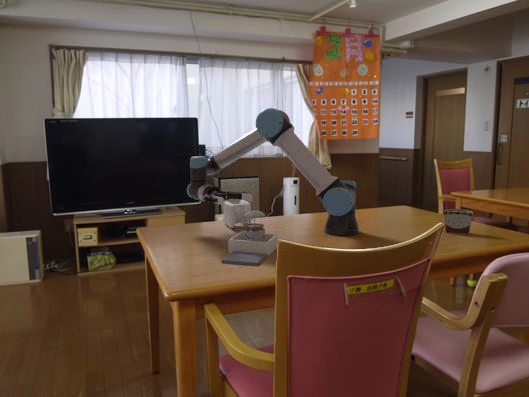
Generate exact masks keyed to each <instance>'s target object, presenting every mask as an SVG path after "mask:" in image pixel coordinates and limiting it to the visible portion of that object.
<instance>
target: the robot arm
mask: <svg viewBox="0 0 529 397" xmlns="http://www.w3.org/2000/svg"><path fill="white" fill-rule="evenodd" d="M267 142H269V143H270V144H271V145H272V146H273V147H278V149H280V150H281V151H282V152H283V153H284V154H285V156H286V157H287V158H288V159H289V161H290V162H292V163H293V165H294V166H295V167H296V168H297V169H298V170H299V172H300V173H301V174H302V175H303V176H304V178H305V179H306V180H307V181H308V182H309V183H310V184H311V186H312V187H313V189H314V190H316V191H315V193H316V196H317V199H319V200H320V202H321V203H322V205H323V208H324V209H325V210H326V212H327V213H328V216H327V218H326V221H325V224H324V227H323V228H324V233H326V234H329V235H333V236H334V235H335V236H354V235H357V234H359V233H360V226H359V224H358V223H359V222H358V220H357V216H356V199H357V198H356V195H357V194H356V190H357V183H356V181H354V180H341V179H340V178H339V177H338V176H332V174H331V173H330V172H329V171H328V170H327V169H326V168H325V166H324V164H322V163H321V162H320V161H319V160H318V158H317V157H316V156H315V155H314V154H313V152H312V151H311V150H310V149H309V148H308V147H307V146H306V144H305V143H304V142H303V141H302V140H301V139H300V137H299V136H298V135H297V134H296V133H295V126H294V125H293V124H292V123H291V121H290V117H289V115H288V114H287V113H286V112H285V111H284V110H283V111H282V110H279V109H276V108H272V107H269V108H264V109H262V110H261V111H259V113H258V114H257V116H256V118H255V128H254V129H252V130H251V131H250V132H248V133H246V134H245V135H242V136H241V137H240V138H239V139H236V140H235V141H234V142H232V143H231V144H229V145H228V146H226V147H225V148H222V150H220V151H218V152H217V153H215V154H214V155H212V156H211V157H208V158H207V156H204V155H203V156H202V155H201V156H194V155H193V156H191V157H190V159H189V161H190V162H189V173H190V183H189V184H188V185H187V187H186V193H187V195H188V196H189V198H191V199H193V200H197V201H202V202H204V203H205V204H208V203H209V205H211V206H213V204H216V205H220V206H223V205H224V202H225V201H228V200H244V201H246V202H248V203H253V194H249V193H248V192H246V191H243V192H241V191H230V190H228V191H224V190H221V188H220V187H219V186H217V185H216V186H215V185H212V184H208V176H214V175H217V174H219V172H220V171H221V170H223V169H224V168H226V167H227V166H229V165H231V164H233V163H234V162H236V161H237V160H239V159H240V158H242V157H244V156H245V155H247V154H249V153H250V152H252V151H253V150H255V149H257V148H258V147H260V146H262V145H263V144H265V143H267Z"/></svg>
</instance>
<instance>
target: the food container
mask: <svg viewBox="0 0 529 397" xmlns="http://www.w3.org/2000/svg"><path fill="white" fill-rule="evenodd" d="M474 214H475V213H474V212H473V211H472V210H469V209H464V208H463V209H462V208H448V209H447V208H446V209H444V210H443V212H442V215H443V216H444V217H443V218H444V232H445V234H456V235H457V234H458V235H466V236H467V235H469V234H470V231H471V225H472V220H473V218H474V217H475V215H474Z"/></svg>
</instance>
